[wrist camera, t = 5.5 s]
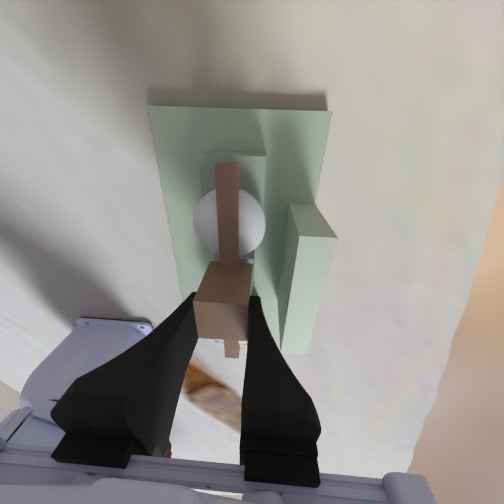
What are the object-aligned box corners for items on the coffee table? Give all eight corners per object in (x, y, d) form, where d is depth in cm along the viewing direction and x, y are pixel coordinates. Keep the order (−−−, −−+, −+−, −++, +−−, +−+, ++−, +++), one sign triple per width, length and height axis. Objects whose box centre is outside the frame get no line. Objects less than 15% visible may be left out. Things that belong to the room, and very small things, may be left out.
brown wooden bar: (210, 345, 19) (197, 392, 16) (189, 160, 11) (154, 172, 8) (256, 349, 19) (254, 397, 16) (269, 163, 11) (270, 177, 8)
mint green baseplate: (191, 324, 25) (167, 384, 19) (154, 107, 14) (71, 87, 8) (288, 331, 25) (295, 394, 19) (328, 112, 14) (375, 96, 8)
